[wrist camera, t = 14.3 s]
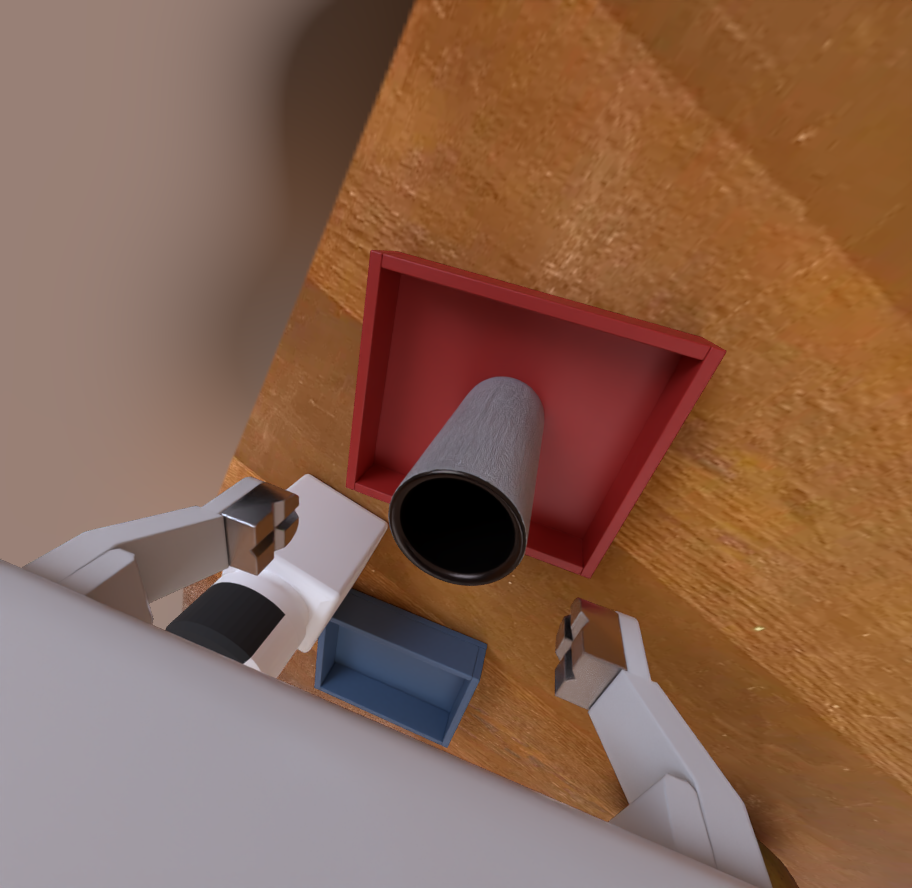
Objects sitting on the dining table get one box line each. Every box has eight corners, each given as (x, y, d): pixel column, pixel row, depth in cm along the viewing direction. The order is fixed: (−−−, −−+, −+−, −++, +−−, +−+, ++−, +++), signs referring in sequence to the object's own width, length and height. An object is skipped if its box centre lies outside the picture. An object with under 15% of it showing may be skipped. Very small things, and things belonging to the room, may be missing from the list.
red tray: (368, 464, 25) (345, 487, 23) (397, 251, 19) (369, 249, 16) (587, 543, 23) (590, 579, 21) (703, 337, 17) (727, 351, 14)
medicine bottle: (285, 530, 30) (138, 670, 20) (307, 470, 27) (143, 602, 16) (358, 576, 30) (250, 740, 20) (391, 522, 27) (280, 686, 16)
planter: (557, 390, 19) (549, 502, 10) (528, 462, 21) (501, 606, 12) (474, 364, 20) (398, 449, 11) (455, 437, 22) (378, 557, 13)
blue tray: (331, 657, 37) (314, 687, 34) (340, 583, 31) (320, 612, 29) (456, 712, 35) (447, 748, 33) (487, 644, 30) (480, 680, 27)
